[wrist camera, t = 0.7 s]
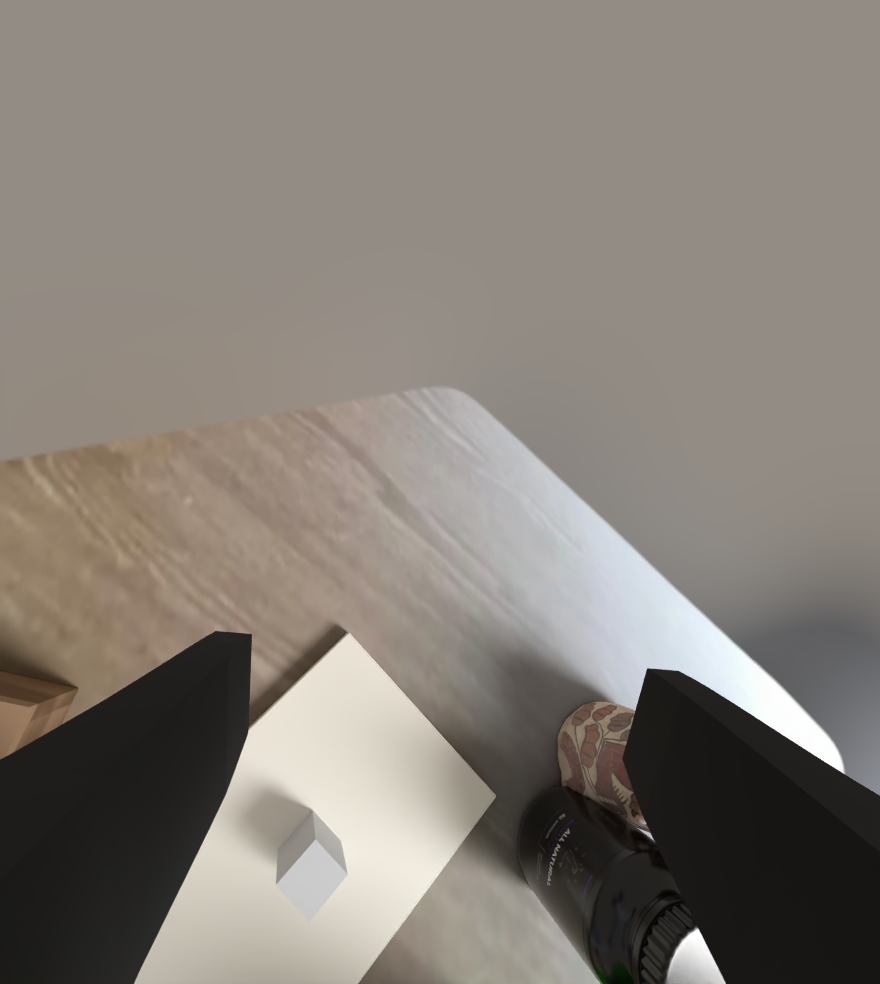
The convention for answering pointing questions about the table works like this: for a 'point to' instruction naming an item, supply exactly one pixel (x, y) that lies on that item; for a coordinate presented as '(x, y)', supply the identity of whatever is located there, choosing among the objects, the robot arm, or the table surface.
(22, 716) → the walnut knob
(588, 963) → the supplement bottle
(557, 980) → the table surface
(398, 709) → the board
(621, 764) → the figurine
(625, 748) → the robot arm
